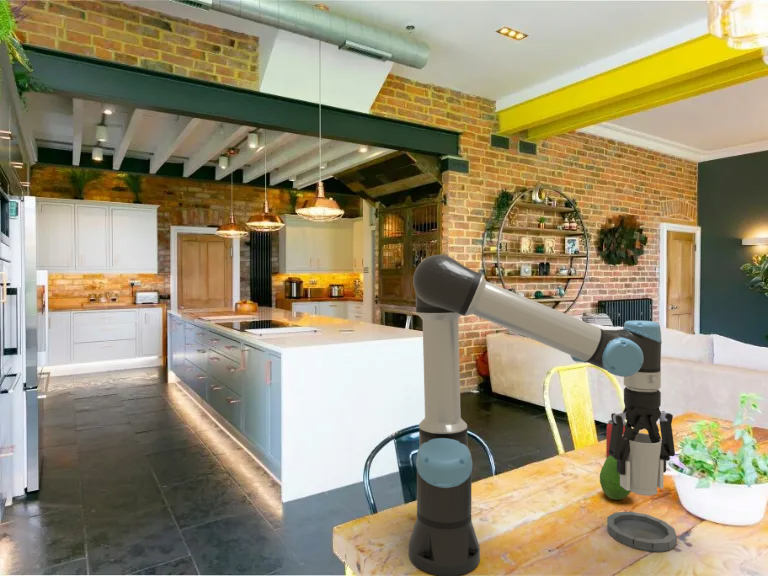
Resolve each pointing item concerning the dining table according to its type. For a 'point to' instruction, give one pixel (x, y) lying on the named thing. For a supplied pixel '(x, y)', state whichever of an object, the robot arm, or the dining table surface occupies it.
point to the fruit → (612, 480)
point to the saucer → (641, 531)
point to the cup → (644, 464)
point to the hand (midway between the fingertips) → (641, 486)
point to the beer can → (608, 435)
